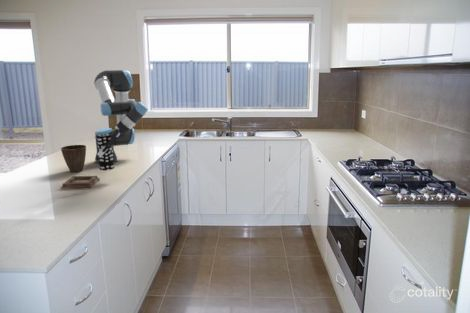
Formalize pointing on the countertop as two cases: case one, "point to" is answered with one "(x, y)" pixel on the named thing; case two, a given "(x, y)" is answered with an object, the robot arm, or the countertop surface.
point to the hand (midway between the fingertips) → (99, 153)
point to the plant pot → (74, 157)
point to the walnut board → (80, 182)
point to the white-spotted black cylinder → (107, 158)
